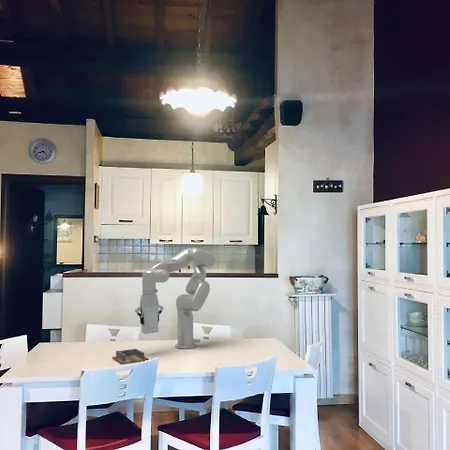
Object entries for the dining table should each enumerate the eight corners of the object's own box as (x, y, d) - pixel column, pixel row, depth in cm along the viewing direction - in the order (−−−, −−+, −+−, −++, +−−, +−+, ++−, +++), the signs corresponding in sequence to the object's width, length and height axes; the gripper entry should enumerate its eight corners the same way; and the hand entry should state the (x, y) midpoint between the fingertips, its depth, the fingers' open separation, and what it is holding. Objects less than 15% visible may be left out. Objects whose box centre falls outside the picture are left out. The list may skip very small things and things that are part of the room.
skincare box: (155, 330, 261) (154, 304, 262) (158, 332, 256) (158, 306, 256) (141, 332, 257) (140, 306, 257) (144, 334, 252) (144, 307, 252)
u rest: (138, 355, 255) (138, 347, 255) (148, 360, 242) (148, 353, 243) (112, 358, 247) (112, 351, 248) (121, 364, 235) (121, 356, 235)
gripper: (160, 290, 265) (161, 320, 264) (132, 293, 256) (132, 324, 255) (166, 291, 259) (166, 322, 258) (136, 294, 250) (137, 326, 249)
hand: (149, 323), depth 257 cm, fingers closed on skincare box, 8 cm apart
